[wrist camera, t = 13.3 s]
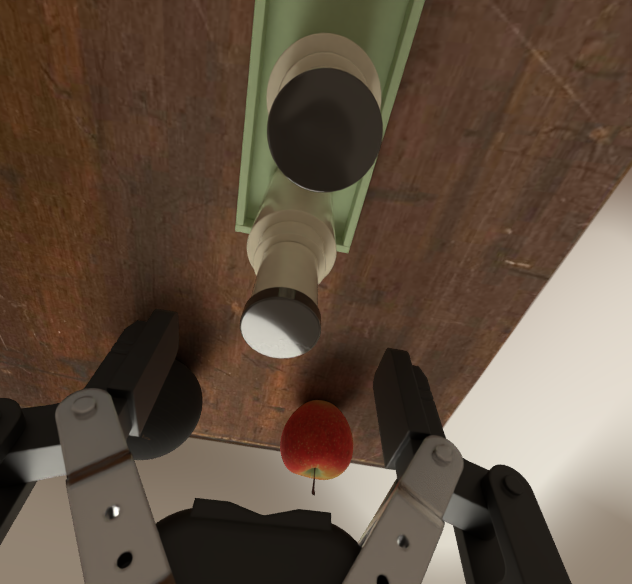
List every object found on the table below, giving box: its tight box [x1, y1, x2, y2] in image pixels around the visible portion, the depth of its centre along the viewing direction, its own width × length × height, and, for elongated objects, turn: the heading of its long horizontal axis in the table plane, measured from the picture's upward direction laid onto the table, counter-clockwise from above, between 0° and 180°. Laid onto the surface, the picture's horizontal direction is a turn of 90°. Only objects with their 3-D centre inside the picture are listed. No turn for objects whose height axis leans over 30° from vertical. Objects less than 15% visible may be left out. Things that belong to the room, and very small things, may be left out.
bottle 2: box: [240, 168, 337, 358], centre depth 21 cm, size 5×5×16 cm
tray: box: [235, 0, 425, 253], centre depth 23 cm, size 22×9×2 cm, turn 168°
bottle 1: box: [266, 33, 383, 193], centre depth 16 cm, size 5×5×16 cm
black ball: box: [126, 360, 202, 460], centre depth 36 cm, size 10×10×10 cm
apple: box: [280, 400, 353, 495], centre depth 39 cm, size 8×8×10 cm
